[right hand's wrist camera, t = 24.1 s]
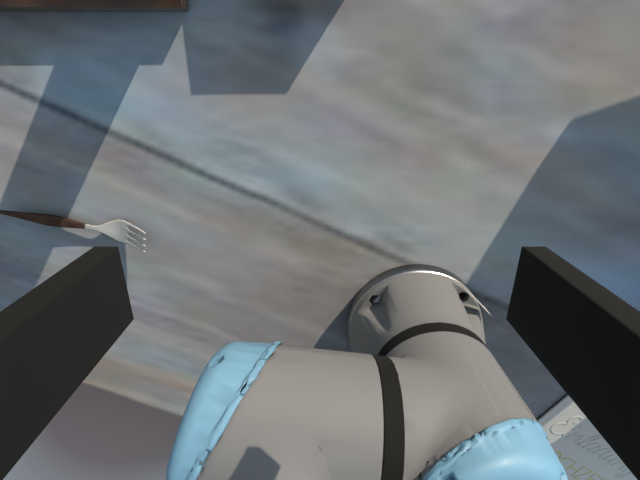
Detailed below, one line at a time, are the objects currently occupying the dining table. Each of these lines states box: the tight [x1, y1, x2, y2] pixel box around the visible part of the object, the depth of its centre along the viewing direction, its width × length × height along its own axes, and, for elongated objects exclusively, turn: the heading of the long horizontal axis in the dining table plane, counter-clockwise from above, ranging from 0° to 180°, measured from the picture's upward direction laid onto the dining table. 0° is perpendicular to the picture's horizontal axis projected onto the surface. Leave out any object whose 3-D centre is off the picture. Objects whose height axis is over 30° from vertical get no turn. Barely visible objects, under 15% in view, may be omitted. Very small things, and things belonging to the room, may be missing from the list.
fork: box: [0, 210, 146, 253], centre depth 39 cm, size 3×16×2 cm, turn 79°
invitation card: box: [537, 395, 637, 480], centre depth 53 cm, size 21×1×15 cm
